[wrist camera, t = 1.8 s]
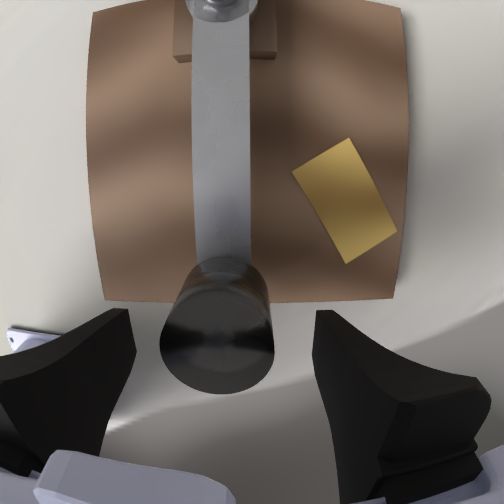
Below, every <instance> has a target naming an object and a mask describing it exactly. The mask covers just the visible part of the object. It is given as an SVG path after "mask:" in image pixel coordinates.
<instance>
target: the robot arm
mask: <svg viewBox="0 0 504 504" xmlns="http://www.w3.org/2000/svg"><path fill="white" fill-rule="evenodd" d="M6 334H7V337H8V339H9V342H10V345H11V347H12V350H13V353H12V354H9V355H5V356H0V504H236V502H235V498H234V496H233V495H232V494H231V493H230V491H229V490H228V489H227V487H225V486H224V485H222V484H221V483H218V482H216V481H214V480H212V479H210V478H208V477H206V476H203V475H198V474H193V473H189V472H184V471H179V470H171V469H163V468H156V467H149V466H143V465H137V464H131V463H125V462H120V461H115V460H110V459H106V458H101V457H99V454H100V450H101V446H102V442H103V438H104V435H105V431H106V428H107V424H108V421H109V419H110V416H111V413H112V411H113V409H114V407H115V405H116V403H117V400H118V398H119V396H120V394H121V392H122V390H123V388H124V386H125V383H126V381H127V379H128V377H129V375H130V373H131V370H132V367H133V363H134V360H135V356H136V353H137V351H136V346H135V342H134V337H133V332H132V327H131V323H130V318H129V312H128V309H120V308H113V309H111V310H108V311H106V312H104V313H102V314H101V315H99V316H97V317H95V318H93V319H92V320H90V321H88V322H86V323H85V324H83V325H81V326H79V327H77V328H75V329H74V330H72V331H70V332H68V333H66V334H64V335H62V336H60V335H52V334H45V333H38V332H32V331H25V330H19V329H13V328H8V329H7V330H6ZM312 359H313V365H314V371H315V377H316V380H317V383H318V387H319V390H320V394H321V396H322V400H323V403H324V407H325V409H326V413H327V416H328V420H329V423H330V428H331V433H332V439H333V445H334V451H335V459H336V466H337V475H338V485H339V495H340V504H504V445H502V446H499V447H497V448H495V449H493V450H491V451H488V452H487V453H485V454H483V455H482V456H481V457H480V458H479V459H478V458H477V456H476V454H475V452H474V451H476V450H477V448H478V446H477V444H476V442H475V440H474V437H475V436H476V434H477V432H478V431H479V429H480V427H481V426H482V424H483V422H484V420H485V419H486V417H487V415H488V413H489V410H490V406H491V397H490V394H489V393H488V392H487V391H486V389H485V388H484V387H483V385H482V384H481V383H480V381H479V380H478V379H477V378H476V377H470V376H464V375H458V374H452V373H448V372H444V371H440V370H436V369H433V368H430V367H427V366H424V365H421V364H419V363H416V362H413V361H411V360H408V359H406V358H404V357H402V356H400V355H397V354H396V353H394V352H392V351H390V350H388V349H386V348H385V347H383V346H381V345H380V344H378V343H377V342H375V341H373V340H372V339H370V338H369V337H368V336H366V335H365V334H363V333H362V332H361V331H359V330H358V329H357V328H355V327H354V326H353V325H351V324H350V323H349V322H348V321H346V320H345V319H344V318H343V317H341V316H340V315H339V314H337V313H336V312H335V311H333V310H316V320H315V330H314V340H313V349H312Z"/></svg>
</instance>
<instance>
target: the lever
mask: <svg viewBox="0 0 504 504" xmlns="http://www.w3.org/2000/svg"><path fill="white" fill-rule="evenodd" d="M185 1H186V5H187V8H188V10H189V12H190V14H191V16H192V18H193V35H192V97H191V103H192V168H193V197H194V219H195V238H196V254H197V265H196V266H195V267H194V268H193V269H192V270H191V271H190V273H189V274H188V276H187V277H186V280H185V282H184V284H183V286H182V288H181V290H180V292H179V294H178V297H177V299H176V301H175V303H174V305H173V307H172V310H171V312H170V314H169V316H168V318H167V320H166V323H165V325H164V327H163V329H162V332H161V336H160V352H161V356H162V359H163V361H164V363H165V365H166V366H167V368H168V369H169V371H170V372H171V373H172V374H173V375H174V376H175V377H176V378H177V379H178V380H180V381H181V382H183V383H184V384H186V385H187V386H189V387H191V388H193V389H196V390H199V391H202V392H206V393H211V394H232V393H237V392H241V391H244V390H246V389H248V388H251V387H252V386H254V385H256V384H257V383H258V382H260V381H261V380H262V379H263V378H264V377H265V376H266V375H267V373H268V372H269V370H270V368H271V366H272V364H273V360H274V354H275V351H274V339H273V330H272V321H271V312H270V303H269V294H268V288H267V285H266V282H265V280H264V278H263V276H262V275H261V274H260V272H259V271H258V270H257V269H256V268H255V267H253V266H252V265H251V196H250V58H249V23H250V22H251V20H252V19H253V18H254V16H255V14H256V12H257V7H258V0H185Z"/></svg>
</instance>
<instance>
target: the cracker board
mask: <svg viewBox="0 0 504 504" xmlns="http://www.w3.org/2000/svg"><path fill="white" fill-rule="evenodd" d="M192 35H193V18H192V16H191V14H190V12H189V10H188V8H187V5H186V1H185V0H144V1H139V2H134V3H129V4H125V5H120V6H116V7H112V8H108V9H104V10H100V11H97V12H93V17H92V25H91V33H90V43H89V55H88V70H87V93H86V142H87V166H88V181H89V194H90V205H91V214H92V223H93V231H94V239H95V246H96V253H97V259H98V266H99V271H100V277H101V283H102V288H103V293H104V298H105V300H115V301H141V302H175V301H176V299H177V297H178V294H179V292H180V290H181V288H182V286H183V284H184V282H185V280H186V277H187V276H188V274H189V273H190V271H191V270H192V269H193V268H194V267H195V266H196V265H197V254H196V238H195V219H194V197H193V168H192V103H191V97H192ZM249 58H250V196H251V265H252V266H253V267H255V268H256V269H257V270H258V271H259V272H260V274H261V275H262V276H263V278H264V280H265V282H266V285H267V288H268V294H269V303H289V302H326V301H352V300H373V299H391V298H393V296H394V290H395V284H396V278H397V272H398V265H399V258H400V250H401V242H402V234H403V225H404V215H405V203H406V190H407V173H408V144H409V110H408V82H407V66H406V53H405V42H404V33H403V25H402V17H401V10H400V8H397V7H393V6H389V5H384V4H380V3H375V2H370V1H365V0H258V7H257V12H256V14H255V16H254V18H253V19H252V20H251V22H250V23H249Z"/></svg>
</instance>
